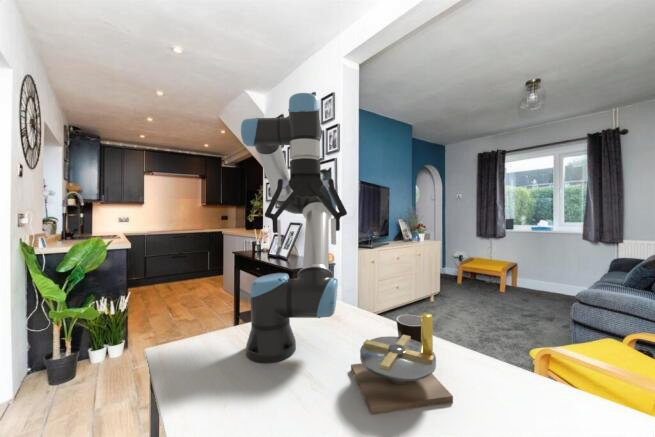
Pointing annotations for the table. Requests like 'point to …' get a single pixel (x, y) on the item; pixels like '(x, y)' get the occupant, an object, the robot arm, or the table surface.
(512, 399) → the table surface
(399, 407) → the wheel stand
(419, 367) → the handwheel
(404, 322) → the coffee mug
